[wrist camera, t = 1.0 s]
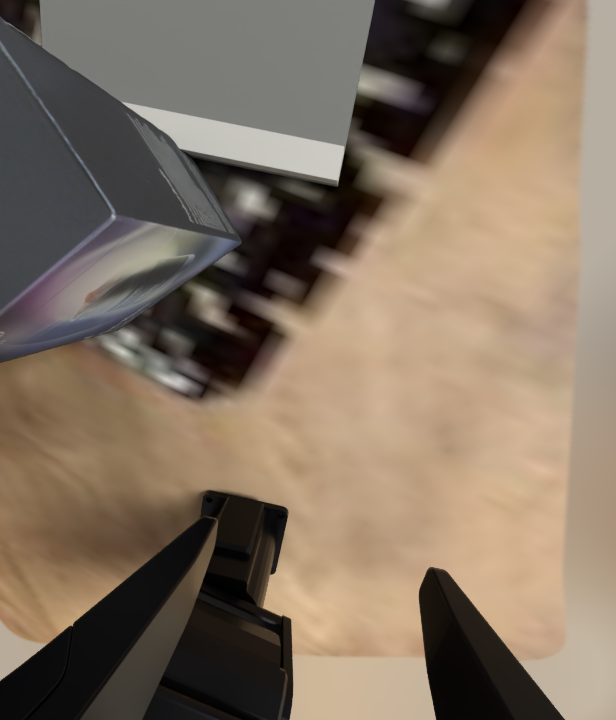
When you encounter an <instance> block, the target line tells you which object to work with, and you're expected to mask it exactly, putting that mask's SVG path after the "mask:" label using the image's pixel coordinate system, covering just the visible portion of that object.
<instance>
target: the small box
mask: <svg viewBox="0 0 616 720" xmlns="http://www.w3.org/2000/svg"><path fill="white" fill-rule="evenodd" d="M240 244H241V239H240V237H239V235H238V234H237V232H236V230H235V228H234V227H233V225H232V223H231V222H230V220H229V218H228V216H227V215H226V213H225V212H224V210H223V208H222V207H221V205H220V203H219V202H218V200H217V198H216V197H215V195H214V193H213V192H212V190H211V188H210V187H209V185H208V183H207V182H206V180H205V179H204V177H203V175H202V174H201V172H200V170H199V169H198V167H197V165H196V164H195V162H194V160H193V159H192V157H191V155H189V154H187V153H186V152H184V151H182V150H181V149H179V148H178V146H177V144H176V143H175V142H174V141H173V139H172V138H171V137H170V136H169V135H168V134H166V133H165V132H163V131H162V130H160V129H158V128H157V127H156V126H155V125H153V124H152V123H151V122H149V121H148V120H146V119H145V118H143V117H141V116H140V115H138V114H137V113H136V112H135V111H133V110H132V109H130V108H129V107H127V106H126V105H124V104H123V103H122V102H121V101H119V100H117V99H116V98H114V97H113V96H112V95H110V94H109V93H107V92H106V91H105V90H103V89H102V88H100V87H99V86H98V85H96V84H95V83H93V82H92V81H91V80H89V79H88V78H86V77H84V76H83V75H82V74H80V73H79V72H77V71H76V70H73V69H71V68H70V67H69V66H68V65H67V64H66V63H64V62H63V61H62V60H60V59H58V58H57V57H55V56H54V55H52V54H51V53H49V52H48V51H47V50H45V49H44V48H42V47H41V46H39V45H38V44H36V43H35V42H34V41H33V40H32V39H30V38H29V37H28V36H27V35H26V34H24V33H23V32H21V31H19V30H18V29H16V28H15V27H14V26H13V25H11V24H9V23H7V22H6V21H4V20H3V19H2V18H1V17H0V363H2V362H5V361H9V360H13V359H16V358H20V357H23V356H27V355H30V354H34V353H38V352H41V351H45V350H48V349H52V348H55V347H59V346H63V345H66V344H70V343H73V342H77V341H80V340H84V339H88V338H91V337H95V336H99V335H102V334H106V333H110V332H113V331H117V330H119V329H120V328H122V327H123V326H125V325H126V324H128V323H129V322H130V321H132V320H133V319H135V318H136V317H138V316H139V315H140V314H142V313H143V312H145V311H146V310H147V309H149V308H150V307H152V306H153V305H155V304H156V303H158V302H159V301H160V300H162V299H163V298H165V297H166V296H168V295H169V294H170V293H172V292H173V291H175V290H176V289H177V288H179V287H180V286H182V285H183V284H185V283H186V282H188V281H189V280H190V279H192V278H193V277H195V276H196V275H197V274H199V273H200V272H202V271H203V270H205V269H206V268H207V267H209V266H210V265H212V264H213V263H215V262H216V261H218V260H219V259H220V258H222V257H223V256H224V255H226V254H227V253H229V252H230V251H232V250H233V249H234V248H236V247H237V246H239V245H240Z"/></svg>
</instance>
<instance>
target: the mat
mask: <svg viewBox="0 0 616 720" xmlns="http://www.w3.org/2000/svg"><path fill="white" fill-rule="evenodd" d="M374 3H375V0H40V15H41V34H42V48H44V49H45V50H47V51H48V52H49V53H51V54H52V55H54V56H55V57H57V58H58V59H60V60H62V61H63V62H64V63H66V64H67V65H68V66H69V67H70V68H71V69H73V70H76V71H77V72H79V73H80V74H82V75H83V76H84V77H86V78H88V79H89V80H91V81H92V82H93V83H95V84H96V85H98V86H99V87H100V88H102V89H103V90H105V91H106V92H107V93H109V94H110V95H112V96H113V97H114V98H116V99H117V100H119V101H121V102H122V103H123V104H124V105H126V106H127V107H129V108H130V109H132V110H133V111H135V112H136V113H137V114H138V115H140V116H141V117H143V118H145V119H146V120H148V121H149V122H151V123H152V124H153V125H155V126H156V127H157V128H158V129H160V130H162V131H163V132H165V133H166V134H168V135H169V136H170V137H171V138H172V139H173V141H174V142H175V143H176V144H177V146H178V148H179V149H181V150H182V151H184V152H186V153H187V154H189V155H191V157H192V158H197V159H202V160H207V161H212V162H217V163H222V164H226V165H231V166H236V167H241V168H246V169H251V170H256V171H261V172H266V173H271V174H276V175H281V176H286V177H291V178H296V179H300V180H305V181H310V182H315V183H320V184H325V185H330V186H335V187H338V182H339V177H340V172H341V167H342V162H343V157H344V152H345V147H346V142H347V137H348V132H349V127H350V122H351V117H352V112H353V107H354V102H355V97H356V92H357V87H358V82H359V78H360V73H361V68H362V63H363V58H364V53H365V48H366V43H367V38H368V33H369V28H370V23H371V18H372V13H373V8H374Z"/></svg>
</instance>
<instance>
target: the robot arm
mask: <svg viewBox="0 0 616 720" xmlns="http://www.w3.org/2000/svg"><path fill="white" fill-rule="evenodd" d="M209 497H210V498H212V499H210V498H209ZM280 513H282V514H284V515H281V514H280ZM287 518H288V510H287V509H286V508H285V507H281V506H277V505H273V504H268V503H264V502H259V501H255V500H250V499H246V498H241V497H237V496H232V495H228V494H224V493H219V492H215V491H207V492H206V493H205V495H204V497H203V501H202V510H201V518H200V519H199V520H197V521H196V522H195V523H194V524H193V525H191V526H190V527H189V528H188V529H187V530H185V531H184V532H183V533H182V534H180V535H179V536H178V537H177V538H176V539H174V540H173V541H172V542H171V543H170V544H168V545H167V546H166V547H165V548H164V549H162V550H161V551H160V552H159V553H158V554H156V555H155V556H154V557H153V558H151V559H150V560H149V561H148V562H147V563H145V564H144V565H143V566H142V567H141V568H139V569H138V570H137V571H136V572H135V573H133V574H132V575H131V576H130V577H128V578H127V579H126V580H125V581H124V582H122V583H121V584H120V585H119V586H118V587H116V588H115V589H114V590H113V591H112V592H110V593H109V594H108V595H107V596H106V597H104V598H103V599H102V600H101V601H99V602H98V603H97V604H96V605H95V606H93V607H92V608H91V609H90V610H89V611H87V612H86V613H85V614H84V615H83V616H81V617H80V618H79V619H78V620H76V621H75V622H74V624H73V627H72V626H69V627H68V628H66V629H65V630H64V631H63V632H62V633H61V634H59V635H58V636H57V637H56V638H54V639H53V640H52V641H51V642H50V643H48V644H47V645H46V646H45V647H43V648H42V649H41V650H40V651H38V652H37V653H36V654H35V655H33V656H32V657H31V658H29V659H28V660H27V661H26V662H24V663H23V664H22V665H21V666H19V667H18V668H17V669H15V670H14V671H13V672H11V673H10V674H9V675H7V676H6V677H5V678H3V679H2V680H1V681H0V720H289V719H290V713H291V707H292V698H293V665H292V632H291V619H290V618H288V617H286V616H282V617H281V616H279V615H277V614H275V613H272V612H270V611H268V610H266V609H264V608H263V605H264V600H265V596H266V591H267V586H268V582H269V577H270V575H272V574H274V573H275V572H276V568H277V563H278V559H279V554H280V550H281V545H282V541H283V536H284V532H285V527H286V523H287ZM419 605H420V614H421V623H422V632H423V642H424V651H425V660H426V667H427V674H428V680H429V685H430V690H431V695H432V700H433V705H434V711H435V716H436V720H565V719H564V718H563V717H562V716H561V714H560V713H559V712H558V710H557V709H556V708H555V707H554V705H553V704H552V703H551V702H550V700H549V699H548V698H547V697H546V695H545V694H544V693H543V691H542V690H541V689H540V688H539V686H538V685H537V684H536V683H535V681H534V680H533V679H532V678H531V677H530V675H529V674H528V673H527V671H526V670H525V669H524V668H523V666H522V665H521V664H520V663H519V661H518V660H517V659H516V658H515V656H514V655H513V654H512V653H511V651H510V650H509V649H508V647H507V646H506V645H505V644H504V642H503V641H502V640H501V639H500V637H499V636H498V635H497V634H496V632H495V631H494V630H493V629H492V627H491V626H490V625H489V624H488V622H487V621H486V620H485V619H484V617H483V616H482V615H481V614H480V612H479V611H478V610H477V609H476V607H475V606H474V605H473V604H472V602H471V601H470V600H469V598H468V597H467V596H466V595H465V593H464V592H463V591H462V590H461V588H460V587H459V586H458V585H457V583H456V582H455V581H454V580H453V578H452V577H451V576H450V575H449V573H448V572H447V571H445V570H443V569H439V568H434V567H430V568H429V569H428V570H427V572H426V575H425V577H424V579H423V582H422V584H421V587H420V590H419Z"/></svg>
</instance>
